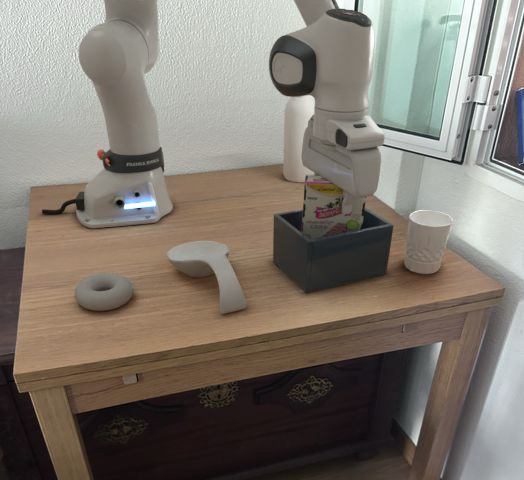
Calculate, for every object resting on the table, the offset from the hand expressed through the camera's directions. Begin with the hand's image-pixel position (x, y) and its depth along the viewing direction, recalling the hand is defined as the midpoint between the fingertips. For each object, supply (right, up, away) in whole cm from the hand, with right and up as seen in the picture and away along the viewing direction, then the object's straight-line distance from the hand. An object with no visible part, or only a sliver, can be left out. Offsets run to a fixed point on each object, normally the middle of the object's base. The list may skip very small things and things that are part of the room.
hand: (333, 205), depth 98 cm
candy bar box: (0, -9, +7) cm, 12 cm away
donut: (-41, -17, -2) cm, 44 cm away
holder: (0, -10, +7) cm, 13 cm away
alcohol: (-3, +21, +51) cm, 55 cm away
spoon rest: (-23, -14, +3) cm, 27 cm away
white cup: (+18, -10, +8) cm, 22 cm away
